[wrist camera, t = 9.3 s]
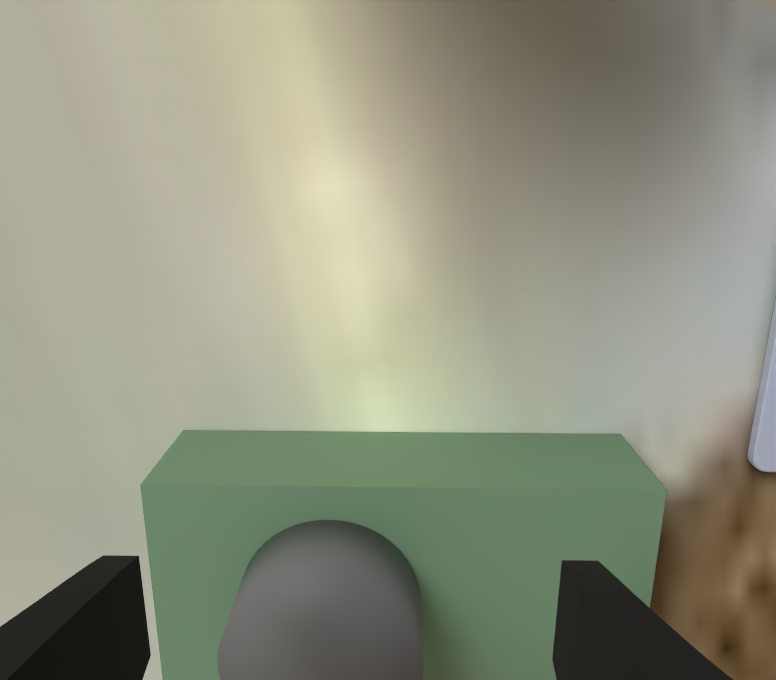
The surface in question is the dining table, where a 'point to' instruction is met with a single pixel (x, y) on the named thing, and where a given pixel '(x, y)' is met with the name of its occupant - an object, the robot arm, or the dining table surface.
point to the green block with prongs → (385, 550)
